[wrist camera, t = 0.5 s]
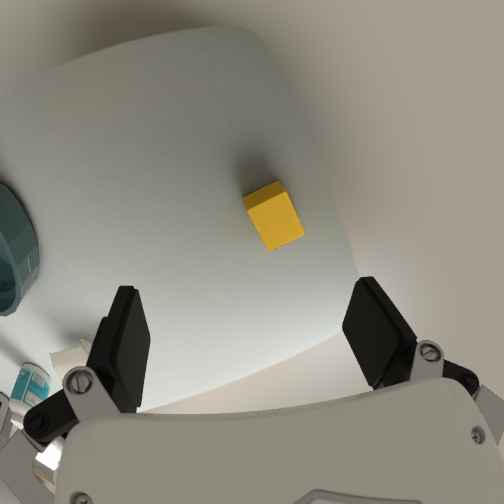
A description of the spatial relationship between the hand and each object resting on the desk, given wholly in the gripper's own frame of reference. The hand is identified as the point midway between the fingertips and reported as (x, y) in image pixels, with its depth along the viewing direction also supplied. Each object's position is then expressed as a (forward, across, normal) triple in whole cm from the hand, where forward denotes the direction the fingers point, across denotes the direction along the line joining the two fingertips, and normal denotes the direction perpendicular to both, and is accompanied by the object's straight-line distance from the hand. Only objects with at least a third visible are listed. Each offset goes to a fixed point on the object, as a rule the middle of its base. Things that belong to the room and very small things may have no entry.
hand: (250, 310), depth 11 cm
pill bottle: (+18, +40, +35) cm, 57 cm away
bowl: (+18, +32, +4) cm, 37 cm away
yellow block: (+18, -4, +3) cm, 19 cm away
